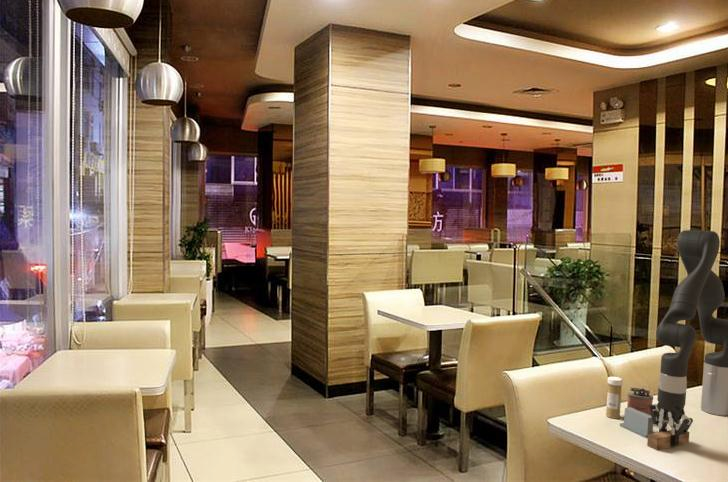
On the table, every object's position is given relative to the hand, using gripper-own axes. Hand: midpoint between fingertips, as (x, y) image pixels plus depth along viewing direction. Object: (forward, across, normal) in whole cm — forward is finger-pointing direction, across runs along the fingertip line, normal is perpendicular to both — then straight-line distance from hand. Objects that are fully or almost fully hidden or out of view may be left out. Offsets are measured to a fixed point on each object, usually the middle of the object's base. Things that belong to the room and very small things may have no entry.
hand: (668, 443), depth 176 cm
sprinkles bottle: (+1, +23, -2) cm, 23 cm away
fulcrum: (0, +11, 0) cm, 11 cm away
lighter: (+1, +20, -11) cm, 23 cm away
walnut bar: (0, 0, 0) cm, 0 cm away
